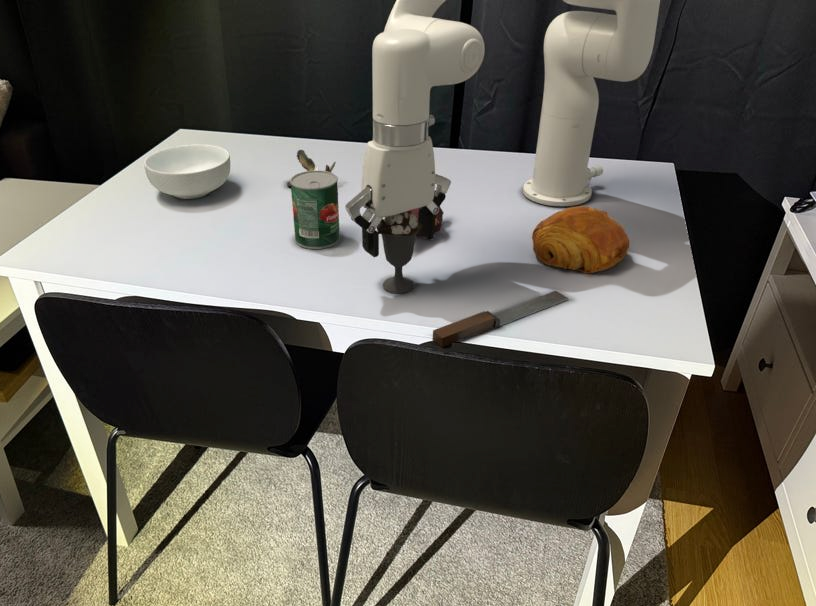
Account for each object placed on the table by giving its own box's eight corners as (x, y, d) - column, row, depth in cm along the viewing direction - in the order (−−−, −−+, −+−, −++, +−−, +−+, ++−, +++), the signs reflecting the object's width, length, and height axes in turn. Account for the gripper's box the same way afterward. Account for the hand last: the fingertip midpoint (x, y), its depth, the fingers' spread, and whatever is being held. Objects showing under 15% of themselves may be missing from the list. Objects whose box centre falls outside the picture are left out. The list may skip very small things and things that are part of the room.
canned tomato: (294, 230, 127) (289, 171, 120) (337, 227, 127) (335, 168, 121) (296, 251, 121) (291, 190, 114) (342, 247, 121) (339, 186, 114)
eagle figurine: (338, 173, 145) (299, 160, 147) (334, 152, 138) (293, 139, 140) (322, 204, 143) (283, 190, 145) (316, 184, 136) (276, 169, 138)
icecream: (433, 222, 113) (463, 194, 124) (392, 204, 115) (425, 178, 126) (420, 259, 117) (450, 229, 128) (380, 241, 119) (413, 213, 130)
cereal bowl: (248, 193, 141) (244, 159, 137) (171, 216, 134) (164, 180, 130) (211, 169, 153) (206, 136, 149) (137, 188, 146) (130, 155, 141)
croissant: (514, 264, 118) (514, 222, 113) (575, 224, 124) (577, 183, 119) (587, 296, 109) (590, 251, 103) (649, 251, 114) (655, 207, 109)
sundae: (424, 277, 112) (427, 187, 103) (413, 299, 107) (416, 206, 98) (384, 272, 114) (383, 183, 105) (371, 293, 109) (370, 201, 100)
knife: (555, 291, 107) (556, 282, 106) (568, 300, 105) (570, 290, 104) (431, 338, 98) (431, 329, 97) (443, 348, 96) (443, 339, 95)
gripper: (436, 112, 102) (431, 221, 112) (331, 135, 95) (336, 250, 105) (469, 125, 96) (460, 239, 107) (360, 152, 90) (362, 270, 100)
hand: (398, 244), depth 106 cm, fingers open, 9 cm apart
